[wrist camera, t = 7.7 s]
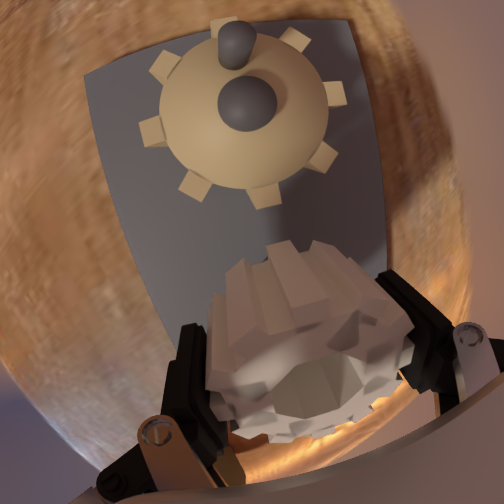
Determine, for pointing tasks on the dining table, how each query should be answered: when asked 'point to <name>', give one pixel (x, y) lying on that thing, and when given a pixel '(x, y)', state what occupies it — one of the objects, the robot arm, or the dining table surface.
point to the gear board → (227, 212)
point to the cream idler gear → (302, 344)
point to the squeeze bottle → (230, 468)
